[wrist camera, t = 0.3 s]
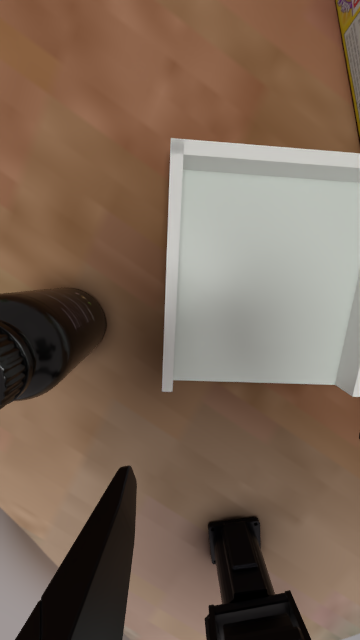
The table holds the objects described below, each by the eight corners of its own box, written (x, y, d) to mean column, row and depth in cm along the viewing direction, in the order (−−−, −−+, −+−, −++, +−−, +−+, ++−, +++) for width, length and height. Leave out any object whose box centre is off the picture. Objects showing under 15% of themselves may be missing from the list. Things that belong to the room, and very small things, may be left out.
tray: (342, 383, 23) (362, 396, 21) (163, 378, 22) (161, 391, 20) (390, 173, 19) (422, 158, 17) (171, 156, 18) (170, 138, 16)
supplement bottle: (83, 366, 22) (-21, 471, 10) (25, 326, 21) (-168, 392, 9) (122, 316, 21) (57, 367, 9) (63, 271, 20) (-96, 265, 8)
